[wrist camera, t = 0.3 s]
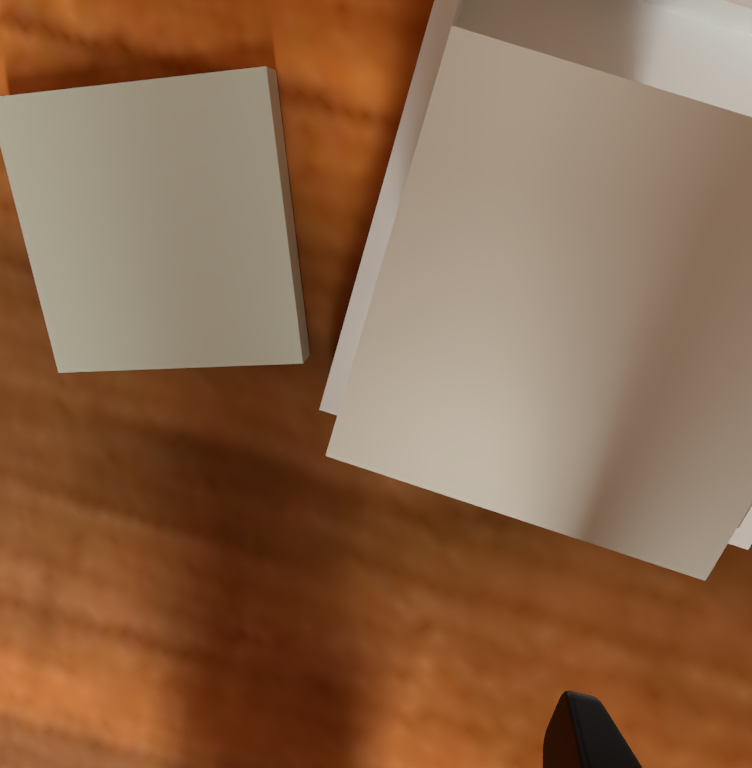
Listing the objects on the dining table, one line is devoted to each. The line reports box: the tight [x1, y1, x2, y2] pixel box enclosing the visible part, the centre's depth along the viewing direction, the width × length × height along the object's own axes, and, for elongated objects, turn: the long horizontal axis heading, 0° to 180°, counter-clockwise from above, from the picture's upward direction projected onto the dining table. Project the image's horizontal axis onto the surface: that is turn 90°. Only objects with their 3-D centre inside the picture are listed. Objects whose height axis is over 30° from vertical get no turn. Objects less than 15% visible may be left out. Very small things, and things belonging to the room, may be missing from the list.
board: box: [0, 66, 310, 373], centre depth 21 cm, size 9×9×1 cm
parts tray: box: [319, 0, 752, 550], centre depth 18 cm, size 14×14×2 cm
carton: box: [326, 26, 752, 581], centre depth 13 cm, size 5×5×13 cm
